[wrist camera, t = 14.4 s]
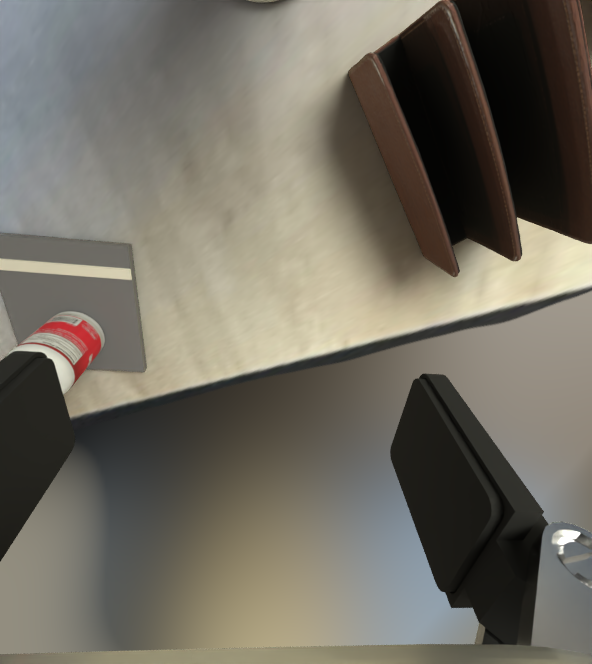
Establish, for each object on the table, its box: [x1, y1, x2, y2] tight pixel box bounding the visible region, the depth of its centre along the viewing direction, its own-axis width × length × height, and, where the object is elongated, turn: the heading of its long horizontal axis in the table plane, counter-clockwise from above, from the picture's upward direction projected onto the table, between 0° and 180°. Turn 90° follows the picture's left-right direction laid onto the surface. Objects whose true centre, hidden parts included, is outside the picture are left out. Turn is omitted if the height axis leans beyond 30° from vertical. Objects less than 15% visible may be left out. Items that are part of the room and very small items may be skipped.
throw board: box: [0, 233, 147, 372], centre depth 39 cm, size 16×14×1 cm
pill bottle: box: [7, 311, 105, 394], centre depth 36 cm, size 6×6×11 cm
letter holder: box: [348, 0, 592, 277], centre depth 28 cm, size 10×20×14 cm, turn 31°
